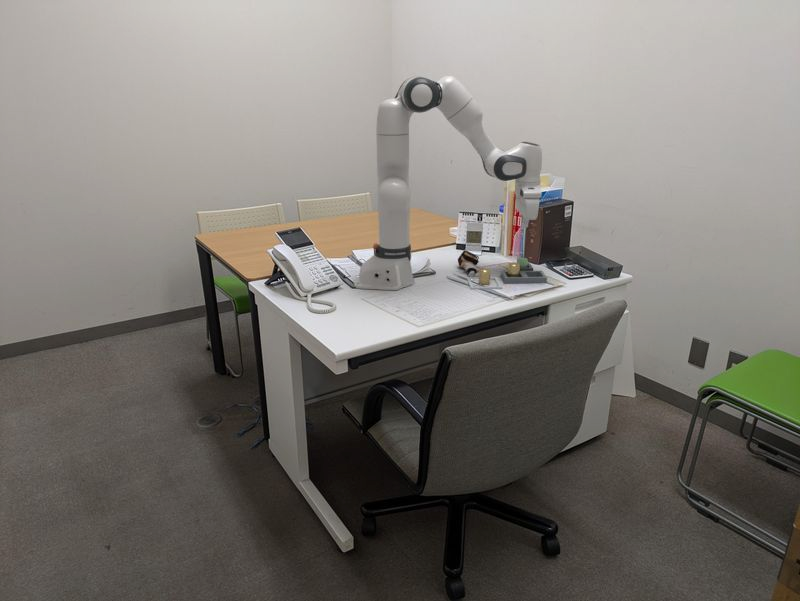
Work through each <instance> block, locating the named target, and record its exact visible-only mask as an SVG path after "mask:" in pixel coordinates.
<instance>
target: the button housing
mask: <svg viewBox="0 0 800 601" xmlns="http://www.w3.org/2000/svg"><path fill="white" fill-rule="evenodd" d="M519 271H534V267H533V265H532V264H531V263H530V262H528V263H527V268H520V269H519Z"/></svg>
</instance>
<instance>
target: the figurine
mask: <svg viewBox="0 0 800 601" xmlns="http://www.w3.org/2000/svg"><path fill="white" fill-rule="evenodd" d="M479 258H480V257H479V255H477V254H474V253H472V252H471V251H468V250H465V249H464V250H463V251H462V252H461V254H460V255H459V256H458V257H457V263H458V265H459V267H460V268H461V269H463V270H465V272H466V273H467V277H468V276H469V277H468V278H470V277H473V276H474V277H479V269H480V268H478V267H477V265H478V263H479V262H480V261H479Z"/></svg>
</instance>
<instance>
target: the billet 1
mask: <svg viewBox="0 0 800 601" xmlns="http://www.w3.org/2000/svg"><path fill="white" fill-rule="evenodd" d="M478 269H479V272H478V273H479V280H478V285H479V284H481V285H488V286H490V285H489V284H491V280H490V277H491V269H490V268H488V267H482V268H478ZM481 285H480V286H481Z"/></svg>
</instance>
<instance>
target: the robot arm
mask: <svg viewBox="0 0 800 601" xmlns="http://www.w3.org/2000/svg"><path fill="white" fill-rule="evenodd" d="M435 108H437V109H438V111H440V113H442V115H443V116H444V118H445V119H446V120H447V121H448V122H449V123H450V125H451V126H452V127H454V129H455V130H457V132H458V133H460V134H461V135H462V136H464V137H465V138H466V139H467V140H468V141H469V142H470V144H471V145H472V146H473V148H474V150H475V151H476V152H477V154H478V155H479V156H480V158H481V161H482V166H483V169H484V171H485V173H486V174H487V175H488V176H490V177H492V178H496V179H497V180H499V181H502V182H508V181H513V180H514V194H515V196H516V197H515V203H514V204H515V209H516V210H517V212H519V214H520V219H521V220H520V221H521V226H522V227H523V228H528V227H529V222H530V221H534V220H537V218H538V215H539V209H540V208H539V207H540V198H542V196H543V195H542V194H543V192H542V190H541V171H542V168H543V167H542V166H543V152H542V147H541V145H540V144H537V143H534V142H530V141H521V142H519V143H518V144H516V145H515V146H514V147H512V148H511V149H509V150H506V151H505V150H503V149H501V148H499V147H497V146H496V145H495V144H494V141H492V138H490V137H489V135H488V134H487V132H486V131H485V130H484V127H483V123H482V122H483V115H484V114H483V111H482V109H481V107H480V105H479V104H478V102H477V100H476V99H475V97H474V96H473V95H472V94H471V92H470V91H469V90H468V89H467V87H466V86H464V85H463V84H462V82H460V81H459V80H458V78H456V77H454V76H452V75H445V76H443V77H441V78H439V79H438V80H437V81H435V80H431V79H429V78H427V77H423V76H419V75H418V76H417V75H415V76H411V77H409V78H407V79H406V80H405V81H403V83H401V84H400V86H399V88H398V91H397V92H396V94H395V97H394V98H388V99H384V100H383V101H381V103H380V104H379V105H378V110H377V114H376V115H377V117H376V165H377V166H376V167H377V168H376V169H377V212H378V213H377V214H378V243H379V244H378V243H374V244H373V245H372V249H373V255H372V256H371V257H370V258H368V259H367V260H365V261H364V262H363V263H362V265H361V266H360V268H359V273H358V275H357V276H359V277H356V276H355V277H354V278H353V286H354V288H356V289H360V290H361V289H363V290H380V291H399V290H400V289H402V288H406V287H410V286H412V285H414V283H415V279H414V274H413V270H412V264H411V259H412V246H411V243H410V242H411V240H410V236H411V235H410V229H411V228H410V224H411V223H410V220H411V218H410V217H411V191H410V188H409V187H410V186H409V171H410V170H409V168H410V120H411V117H412V116H413V114H415V113H419V114H421V113H425V112H428V111H430V110H432V109H435Z"/></svg>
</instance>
